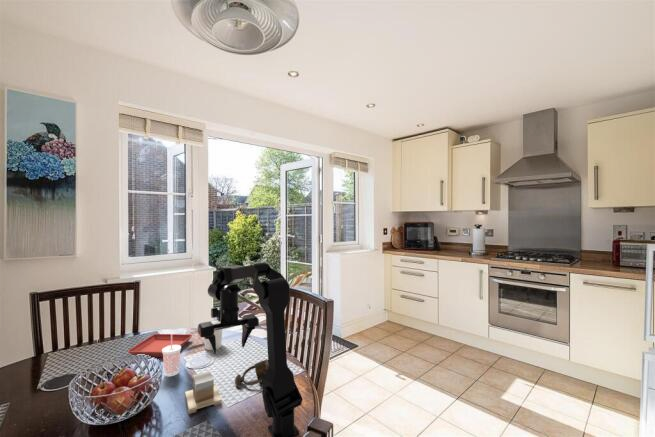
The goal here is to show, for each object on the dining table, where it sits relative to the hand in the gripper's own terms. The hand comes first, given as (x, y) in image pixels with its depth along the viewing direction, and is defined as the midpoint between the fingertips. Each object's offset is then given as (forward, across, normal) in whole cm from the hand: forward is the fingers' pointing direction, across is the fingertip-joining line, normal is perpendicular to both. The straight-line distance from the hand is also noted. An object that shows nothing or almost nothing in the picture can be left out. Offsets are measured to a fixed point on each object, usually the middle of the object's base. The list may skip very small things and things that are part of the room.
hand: (229, 350), depth 101 cm
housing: (+10, +9, +4) cm, 14 cm away
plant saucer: (+13, +16, -44) cm, 48 cm away
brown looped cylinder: (+12, -8, +2) cm, 15 cm away
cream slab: (+12, +9, +4) cm, 15 cm away
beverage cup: (+12, +15, -20) cm, 28 cm away
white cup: (+12, -2, -34) cm, 36 cm away
